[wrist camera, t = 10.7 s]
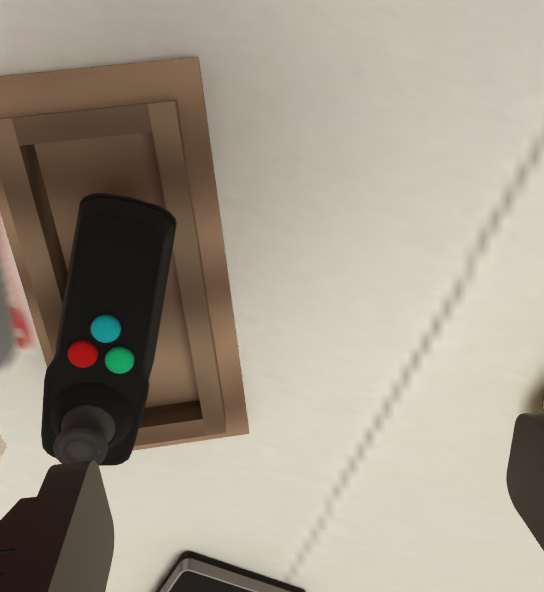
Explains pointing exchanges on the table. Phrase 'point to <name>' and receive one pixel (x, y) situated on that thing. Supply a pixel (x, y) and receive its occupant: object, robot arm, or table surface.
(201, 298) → the cradle
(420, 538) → the table surface
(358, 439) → the table surface
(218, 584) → the external hard drive
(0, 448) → the multiport hub
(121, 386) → the controller
